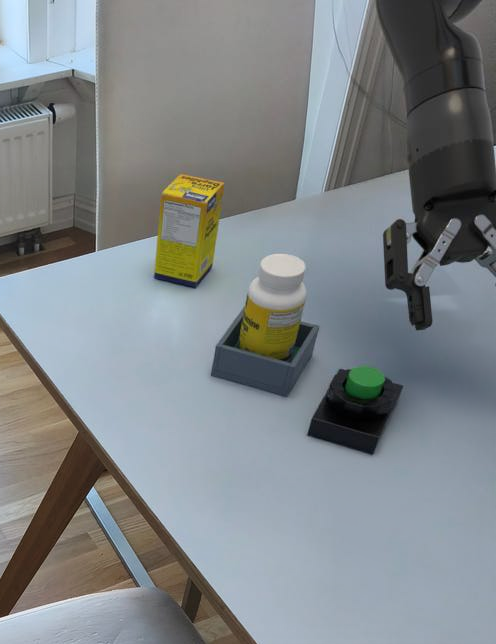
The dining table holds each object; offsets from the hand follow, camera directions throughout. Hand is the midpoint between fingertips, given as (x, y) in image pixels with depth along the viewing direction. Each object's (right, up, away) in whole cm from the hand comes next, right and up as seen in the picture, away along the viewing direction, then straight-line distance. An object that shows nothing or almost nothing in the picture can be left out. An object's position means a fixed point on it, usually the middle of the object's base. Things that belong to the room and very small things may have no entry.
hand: (466, 322), depth 87 cm
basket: (-16, 0, +14) cm, 22 cm away
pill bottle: (-16, +1, +14) cm, 21 cm away
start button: (-8, -5, +5) cm, 11 cm away
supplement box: (-23, +16, +28) cm, 39 cm away
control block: (-8, -8, +8) cm, 14 cm away
